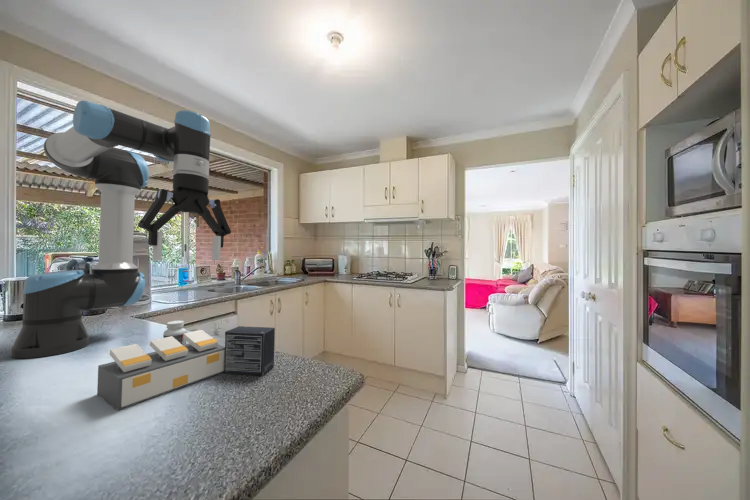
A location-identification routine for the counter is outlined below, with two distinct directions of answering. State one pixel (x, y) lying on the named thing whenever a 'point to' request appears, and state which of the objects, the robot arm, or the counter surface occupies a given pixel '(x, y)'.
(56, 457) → the counter surface
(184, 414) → the counter surface
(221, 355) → the console
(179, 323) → the pill bottle
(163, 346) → the switch
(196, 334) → the switch
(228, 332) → the small box
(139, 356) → the switch
